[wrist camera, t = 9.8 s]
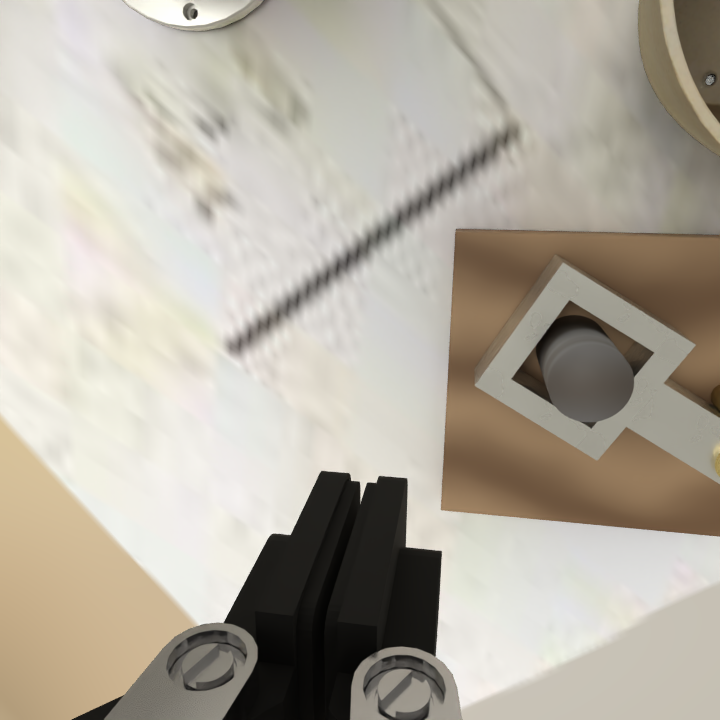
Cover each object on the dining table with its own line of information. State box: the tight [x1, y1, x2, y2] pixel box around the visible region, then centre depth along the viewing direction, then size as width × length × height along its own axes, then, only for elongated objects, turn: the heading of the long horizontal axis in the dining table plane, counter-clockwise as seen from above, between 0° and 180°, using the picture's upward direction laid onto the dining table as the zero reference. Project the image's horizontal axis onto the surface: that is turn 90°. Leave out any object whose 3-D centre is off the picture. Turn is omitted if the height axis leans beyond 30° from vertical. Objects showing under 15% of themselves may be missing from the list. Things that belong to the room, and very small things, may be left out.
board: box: [441, 229, 720, 536], centre depth 34 cm, size 18×18×8 cm
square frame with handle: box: [474, 254, 720, 484], centre depth 34 cm, size 15×8×4 cm, turn 60°
